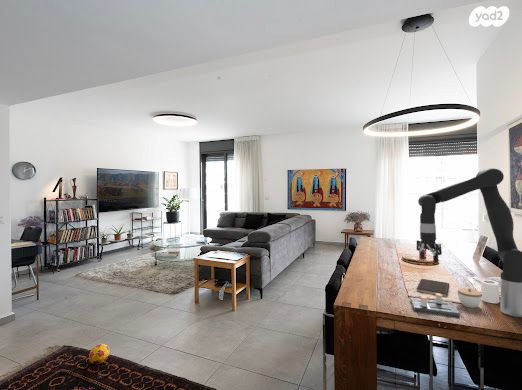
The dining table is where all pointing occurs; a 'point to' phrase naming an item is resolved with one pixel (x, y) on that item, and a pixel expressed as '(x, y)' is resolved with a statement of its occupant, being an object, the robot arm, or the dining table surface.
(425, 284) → the hardcover book
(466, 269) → the dining table surface
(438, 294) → the fader
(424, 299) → the fader
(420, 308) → the console
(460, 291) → the lidded jar
